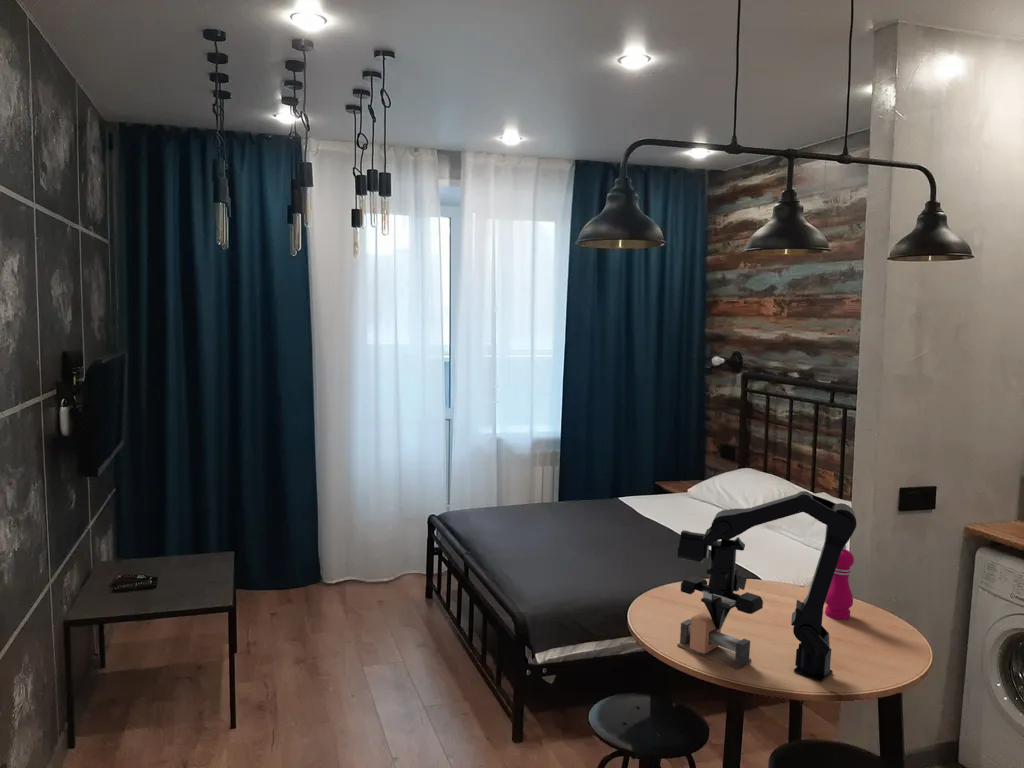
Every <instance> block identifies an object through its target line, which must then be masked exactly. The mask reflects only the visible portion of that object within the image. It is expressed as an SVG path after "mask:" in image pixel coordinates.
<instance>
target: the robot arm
mask: <svg viewBox="0 0 1024 768" xmlns="http://www.w3.org/2000/svg"><path fill="white" fill-rule="evenodd" d="M801 513H804V514H807V515H808V516H811V517H812V518H813V519H814V520H817V521H818V522H820V523H822V524H824V525H825V535H824V536H825V537H824V542H823V546H822V549H821V551H820V556H819V557H818V562H817V565H816V567H815V570H814V574H813V577H812V580H811V583H810V586H809V589H808V593H807V595H806V597H805V598H804V600H803V601H800V600H798V599H796V606H795V609H794V611H793V612H792V613H791V621H790V625H791V626H793V630H792V631H793V633H792V634H793V635H794V637H795V638H796V640H797V641H798V642H800V643H798V648H796V651H795V663H794V666H795V668H794V669H793V672H794V673H796V674H799V675H802V676H805V677H808V678H810V679H812V680H816V681H818V682H823V681H824V680H825V679H827V678H828V677H830V676H831V675H832V674H833V673H834V672H833V670H832V669H831V660H832V648H831V647H830V645H831V644H830V633H829V631H828V630H827V629H826V628H825V627H824V626H823V624H822V623H823V614H824V606H825V604H826V602H825V600H826V597H827V594H828V591H829V588H830V585H831V582H832V579H833V576H834V572H835V569H836V566H837V563H838V560H839V557H840V554H841V551H842V549H843V548H844V546H845V545H846V546H847V543H848V542H849V541H850V539H851V537H852V536H853V534H854V532H855V530H856V528H857V524H858V523H857V517H856V513H855V511H854V509H853V508H852V506H850V505H848V504H847V503H841V502H840V503H835V502H833V501H831V500H829V499H826V498H823V497H820V496H818V495H814V494H812V493H811V492H809V491H807V490H804V491H803V490H802V491H799V492H797V493H794V494H793V495H792V494H791V495H789V496H785V497H782V498H779V499H775V500H771V501H768V502H766V503H765V502H764V503H762V504H758V505H755V506H752V507H747V508H746V507H745V508H729V509H722V510H720V511H718V512H717V513H716V514H715V516H714V517H713V520H712V522H711V526H709V528H707V529H706V530H705V533H702V532H700V533H699V532H691V531H689V530H683V529H682V530H681V532H680V538H679V543H678V547H677V559H678V560H681V561H682V560H685V561H691V562H697V563H703V562H704V561H705V560H706V559H708V558H709V551H710V560H709V563H710V564H709V568H707V569H706V574H708V580H706V579H705V578H702V577H699V576H697V575H692V576H689V577H687V578H684V579H683V580H682V581H681V583H680V592H681V593H685V594H688V595H693V594H694V593H695V592H696V591H698V592H701V593H702V595H703V596H702V598H700V602H701V603H704V605H705V607H706V610H708V611H709V613H710V615H711V618H712V620H713V623H714V625H715V627H716V629H718V630H720V629H722V627H723V625H724V623H725V621H726V619H727V617H728V614H729V613H730V611H731V609H733V608H736V610H737V611H740V612H742V613H744V614H748V615H752V614H755V613H756V612H759V611H760V610H762V609H763V608H764V607H763V605H764V601H763V599H762V596H760V595H758V594H754V593H751V592H748V591H746V592H745V593H742V594H738V593H735V592H738V591H740V590H743V591H745V588H746V584H747V579H748V577H746V576H743V575H741V574H739V570H738V568H736V559H737V551H741V552H742V551H744V550H745V547H746V544H745V543H744V542H743V541H742V540H741V538H740V537H737V536H739V535H741V534H743V533H745V532H746V531H748V530H749V529H751V528H753V527H756V526H759V525H762V524H766V523H770V522H773V521H777V520H781V519H784V518H787V517H789V516H794V515H797V514H801ZM733 538H735V539H733Z"/></svg>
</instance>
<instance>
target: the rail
mask: <svg viewBox="0 0 1024 768" xmlns="http://www.w3.org/2000/svg"><path fill="white" fill-rule="evenodd" d="M690 634H691V619H690V618H688V619H686V620H684V621H682V622H680V633H679V635H680V637H679V643H677V647H679V648H681V649H684V650H686V651H689V652H692V653H694V654H696V655H700V656H702V657H704V658H708V659H710V660H712V661H714V662H717V663H720V664H722V665H725V666H727V667H730V668H734V669H735V670H739V669H741V668H744V667H745V666H746V665H748V664H749V663H750V662H752V658H750V654H751V653H750V651H751V650H750V649H751V640H749V639H746V638H742V639H739V638H736V637H734V636H730V635H728V634H725V633H723V632H721V633H720V632H717V631H714V630H712V631H710V632H709V642H710V643H713V644H716V645H718V647H716V648H714V649H712V650H710V651H709V652H707V653H705V654H703V653H701V652H698V651H696V650H693V649H690Z"/></svg>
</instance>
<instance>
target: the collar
mask: <svg viewBox="0 0 1024 768" xmlns="http://www.w3.org/2000/svg"><path fill="white" fill-rule="evenodd" d="M721 629H722V628H721ZM721 629H720V630H718V629H716V627H715V625H714V623H713V620H712V618H711V615H710V613H709V611H708V609H705V610H704V611H701V612H699V613H697V614H695V615H693V616H691V634H690V649H693V650H696V651H698V652H701V653H703V654H705V653H707V652H709V651H710V650H712V649H714V648H716V647H719V646H718V645H716V644H713V643H710V642H709V632H710V631H712V630H714V631H717V632H720V633H722V632H721Z"/></svg>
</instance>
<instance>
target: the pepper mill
mask: <svg viewBox="0 0 1024 768" xmlns="http://www.w3.org/2000/svg"><path fill="white" fill-rule="evenodd" d="M854 563H855V559H854V555H853V554H852V552H851V551H849V550H847V544H846V545H845V546H844V548H843V549H842V551H841V554H840V557H839V560H838V563H837V566H836V569H835V572H834V576H833V579H832V582H831V585H830V588H829V591H828V594H827V597H826V600H825V604H826V606H825V610H824V613H825V615H826V616H827V617H829V618H831V619H835V620H839V621H840V620H841V621H842V620H843V621H846V620H849V619H850V618H851V610H850V608H851V607H852V606H853V605H854V596H853V593H852V590H851V587H850V581H849V578H850V575H851V573H852V568H851V567H852V566H853V565H854Z"/></svg>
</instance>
